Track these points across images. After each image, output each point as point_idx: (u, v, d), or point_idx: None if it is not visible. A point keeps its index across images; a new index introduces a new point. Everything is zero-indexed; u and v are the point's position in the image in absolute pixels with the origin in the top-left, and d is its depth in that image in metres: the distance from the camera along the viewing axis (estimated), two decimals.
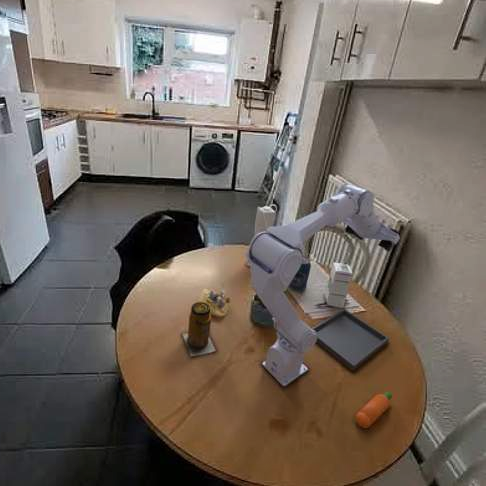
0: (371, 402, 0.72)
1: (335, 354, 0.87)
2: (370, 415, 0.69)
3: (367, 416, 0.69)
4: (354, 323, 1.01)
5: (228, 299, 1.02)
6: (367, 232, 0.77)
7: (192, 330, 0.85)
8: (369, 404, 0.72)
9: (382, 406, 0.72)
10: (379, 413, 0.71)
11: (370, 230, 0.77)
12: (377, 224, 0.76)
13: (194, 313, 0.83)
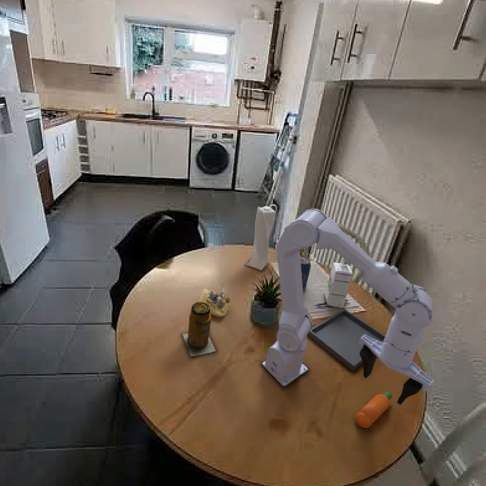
0: (371, 402, 0.72)
1: (335, 354, 0.87)
2: (370, 415, 0.69)
3: (367, 417, 0.69)
4: (354, 323, 1.01)
5: (228, 299, 1.02)
6: (400, 360, 0.63)
7: (192, 330, 0.85)
8: (369, 404, 0.72)
9: (382, 406, 0.72)
10: (379, 413, 0.71)
11: (406, 359, 0.62)
12: (413, 356, 0.63)
13: (194, 313, 0.83)
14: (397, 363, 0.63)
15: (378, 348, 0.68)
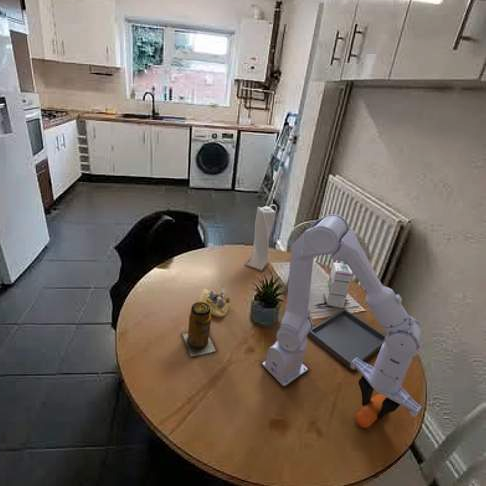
0: (371, 402, 0.72)
1: (335, 354, 0.87)
2: (370, 415, 0.69)
3: (367, 416, 0.69)
4: (354, 323, 1.01)
5: (228, 299, 1.02)
6: (389, 386, 0.65)
7: (192, 330, 0.85)
8: (369, 404, 0.72)
9: None
10: None
11: (395, 385, 0.65)
12: (401, 382, 0.65)
13: (194, 313, 0.83)
14: (386, 389, 0.66)
15: (369, 372, 0.71)
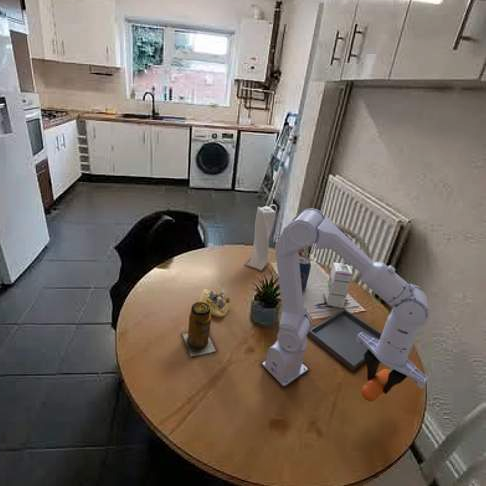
0: (376, 376, 0.71)
1: (335, 354, 0.87)
2: (376, 388, 0.68)
3: (373, 389, 0.68)
4: (354, 323, 1.01)
5: (228, 299, 1.02)
6: (395, 357, 0.64)
7: (192, 330, 0.85)
8: (374, 378, 0.71)
9: None
10: None
11: (401, 356, 0.64)
12: (408, 354, 0.64)
13: (194, 313, 0.83)
14: (392, 360, 0.65)
15: (374, 345, 0.70)
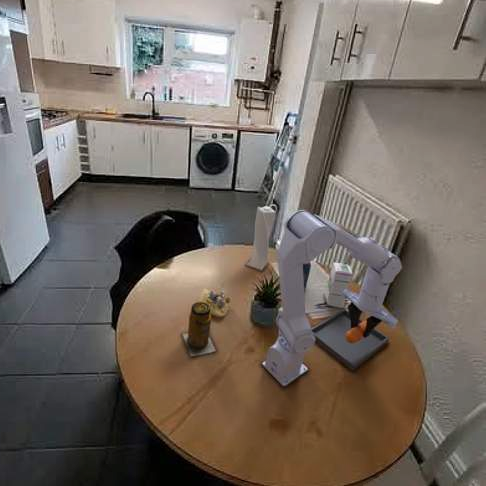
0: (358, 325, 0.86)
1: (335, 354, 0.87)
2: (357, 332, 0.83)
3: (354, 333, 0.83)
4: None
5: (228, 299, 1.02)
6: (372, 305, 0.79)
7: (192, 330, 0.85)
8: (356, 326, 0.86)
9: None
10: None
11: (376, 304, 0.79)
12: (382, 302, 0.79)
13: (194, 313, 0.83)
14: (369, 307, 0.80)
15: (356, 299, 0.85)
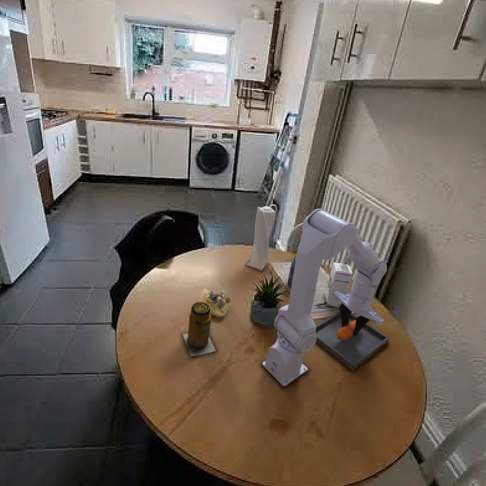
0: (348, 324, 0.94)
1: (335, 354, 0.87)
2: (347, 331, 0.91)
3: (345, 332, 0.90)
4: None
5: (228, 299, 1.02)
6: (360, 305, 0.86)
7: (192, 330, 0.85)
8: (347, 325, 0.93)
9: None
10: None
11: (364, 304, 0.86)
12: (370, 303, 0.87)
13: (194, 313, 0.83)
14: (358, 308, 0.87)
15: (346, 300, 0.92)
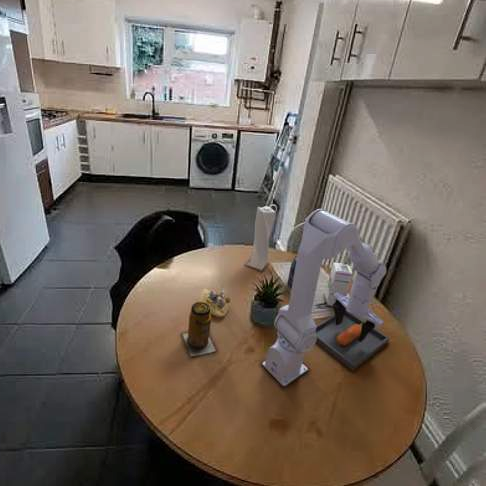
0: (350, 329, 0.94)
1: (335, 354, 0.87)
2: (348, 337, 0.91)
3: (346, 338, 0.90)
4: (354, 323, 1.01)
5: (228, 299, 1.02)
6: (359, 307, 0.87)
7: (192, 330, 0.85)
8: (348, 330, 0.93)
9: (358, 332, 0.93)
10: (354, 337, 0.92)
11: (364, 306, 0.86)
12: (369, 305, 0.87)
13: (194, 313, 0.83)
14: (357, 309, 0.87)
15: (346, 301, 0.92)
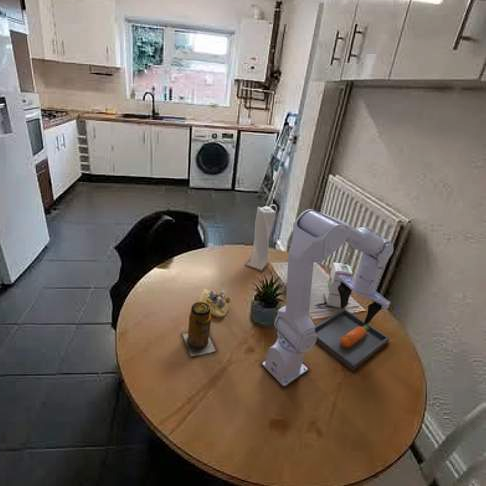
0: (356, 333, 0.92)
1: (335, 354, 0.87)
2: (352, 343, 0.90)
3: (350, 344, 0.89)
4: (354, 323, 1.01)
5: (228, 299, 1.02)
6: (366, 288, 0.84)
7: (192, 330, 0.85)
8: (355, 334, 0.91)
9: (361, 338, 0.93)
10: (356, 341, 0.92)
11: (370, 287, 0.84)
12: (376, 285, 0.85)
13: (194, 313, 0.83)
14: (364, 290, 0.85)
15: (351, 283, 0.90)
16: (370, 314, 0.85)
